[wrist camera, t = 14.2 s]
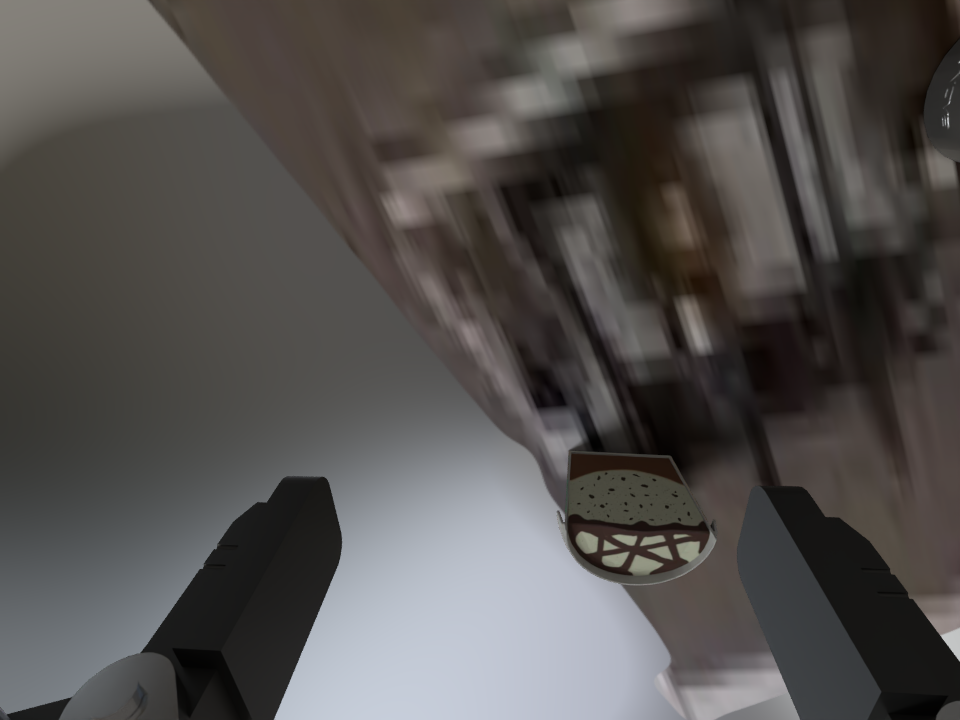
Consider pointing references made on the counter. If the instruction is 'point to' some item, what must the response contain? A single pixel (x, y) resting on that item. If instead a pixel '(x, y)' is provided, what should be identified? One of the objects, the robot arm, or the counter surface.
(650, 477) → the food container
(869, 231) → the counter surface
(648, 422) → the counter surface
